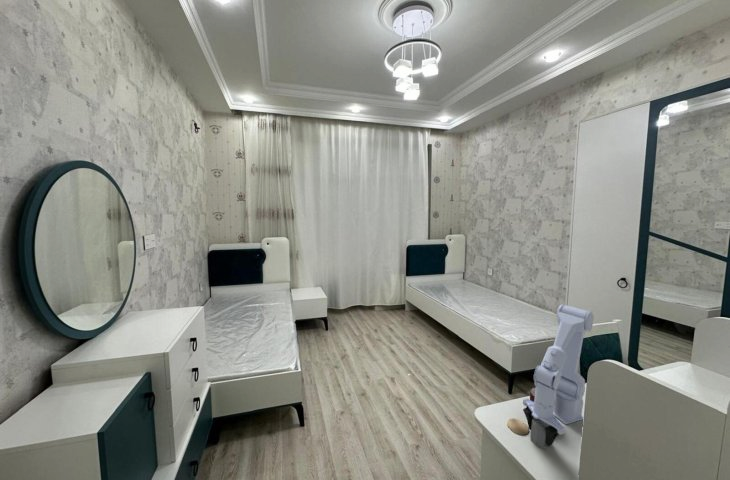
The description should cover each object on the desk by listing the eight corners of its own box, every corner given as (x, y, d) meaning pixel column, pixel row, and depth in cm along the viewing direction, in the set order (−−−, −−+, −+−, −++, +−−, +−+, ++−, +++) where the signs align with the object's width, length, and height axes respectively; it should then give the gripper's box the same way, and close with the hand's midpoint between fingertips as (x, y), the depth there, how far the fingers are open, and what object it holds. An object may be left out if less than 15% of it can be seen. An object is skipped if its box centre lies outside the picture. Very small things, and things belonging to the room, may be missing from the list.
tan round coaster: (517, 418, 110) (517, 416, 110) (533, 432, 104) (533, 430, 104) (502, 422, 108) (503, 421, 108) (517, 436, 102) (518, 435, 102)
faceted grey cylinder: (538, 432, 104) (540, 415, 103) (553, 445, 98) (555, 426, 97) (526, 436, 102) (528, 418, 101) (540, 449, 97) (542, 430, 96)
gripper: (517, 389, 103) (514, 423, 106) (555, 419, 90) (550, 457, 92) (533, 386, 106) (529, 419, 108) (571, 414, 92) (566, 451, 94)
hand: (540, 436), depth 100 cm, fingers open, 6 cm apart
